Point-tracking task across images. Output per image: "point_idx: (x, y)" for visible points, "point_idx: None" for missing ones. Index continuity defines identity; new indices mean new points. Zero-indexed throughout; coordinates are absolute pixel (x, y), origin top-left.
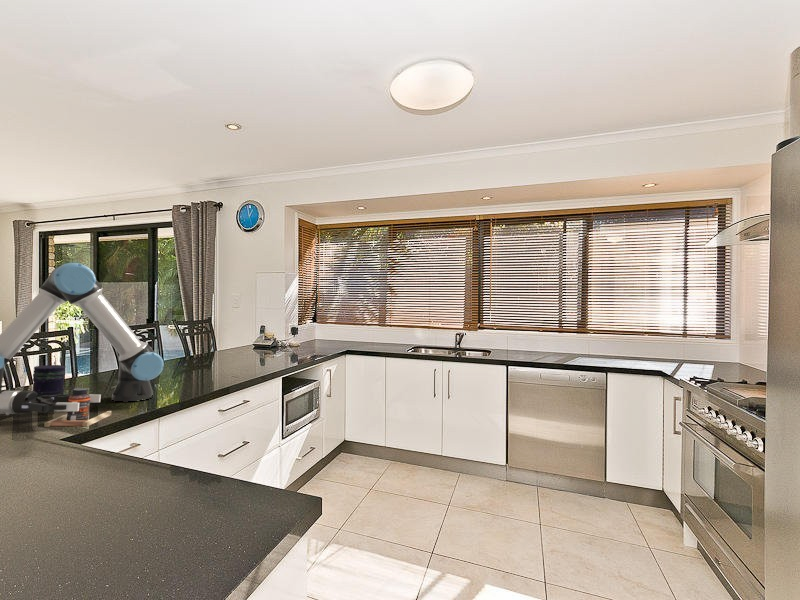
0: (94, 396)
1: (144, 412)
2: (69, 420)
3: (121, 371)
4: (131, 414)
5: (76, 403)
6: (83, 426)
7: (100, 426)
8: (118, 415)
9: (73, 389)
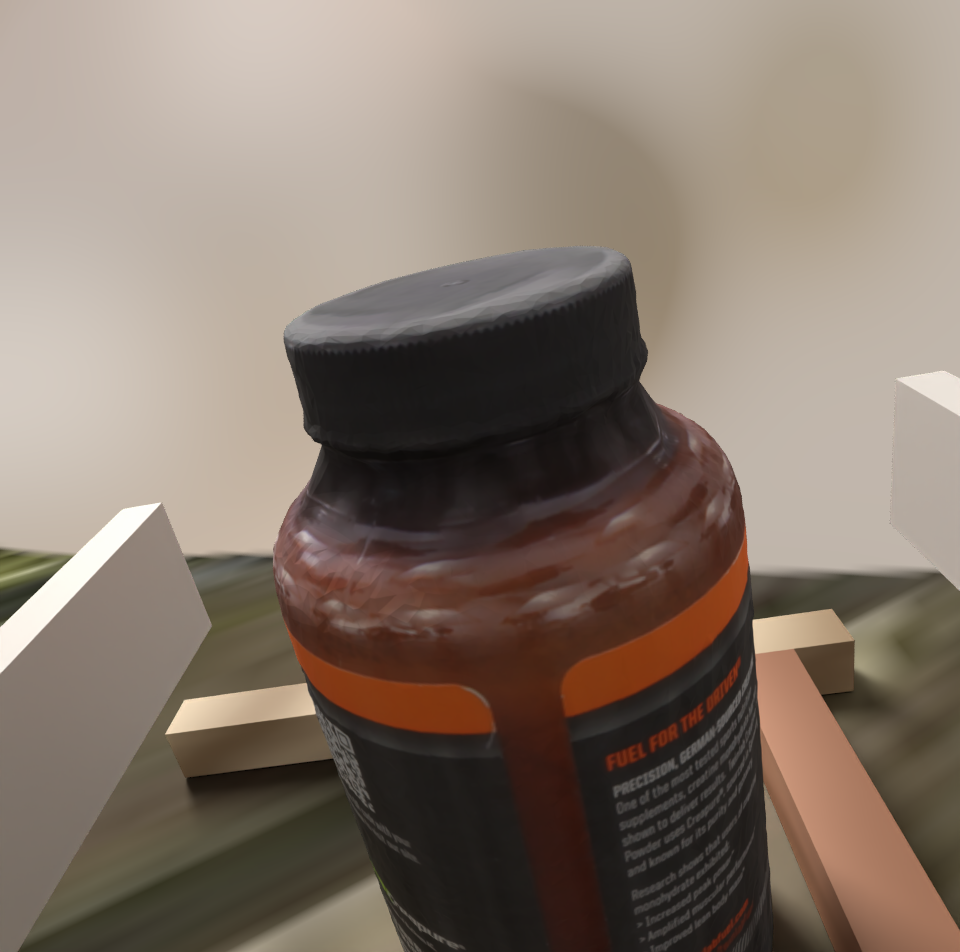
0: (134, 575)
1: (205, 568)
2: (832, 880)
3: None
4: (256, 603)
5: (957, 387)
6: (848, 684)
7: (764, 575)
8: (266, 668)
9: (541, 297)
